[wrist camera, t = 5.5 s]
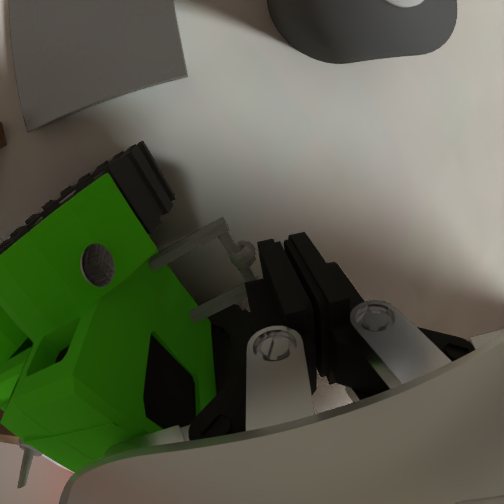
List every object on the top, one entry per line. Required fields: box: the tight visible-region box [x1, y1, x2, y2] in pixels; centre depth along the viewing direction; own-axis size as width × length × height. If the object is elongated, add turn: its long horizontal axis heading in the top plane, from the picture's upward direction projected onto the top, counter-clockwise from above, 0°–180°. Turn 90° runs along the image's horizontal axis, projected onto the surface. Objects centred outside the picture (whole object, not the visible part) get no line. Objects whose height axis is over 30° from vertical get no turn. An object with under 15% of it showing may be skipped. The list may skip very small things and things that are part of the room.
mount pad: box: [9, 0, 188, 132], centre depth 9 cm, size 7×7×1 cm
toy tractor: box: [0, 141, 259, 488], centre depth 11 cm, size 11×16×10 cm
